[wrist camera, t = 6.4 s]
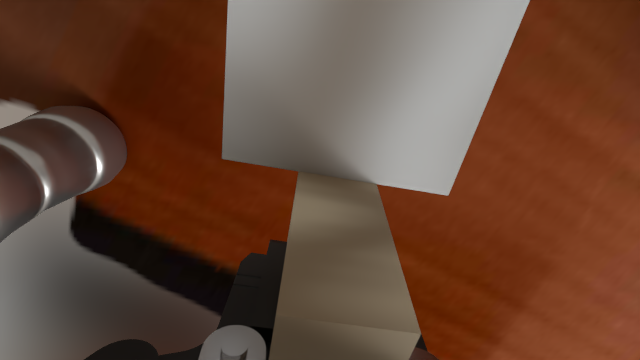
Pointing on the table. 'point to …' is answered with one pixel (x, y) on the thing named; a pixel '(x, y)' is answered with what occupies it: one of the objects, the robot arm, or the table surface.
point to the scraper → (356, 145)
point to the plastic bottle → (55, 161)
